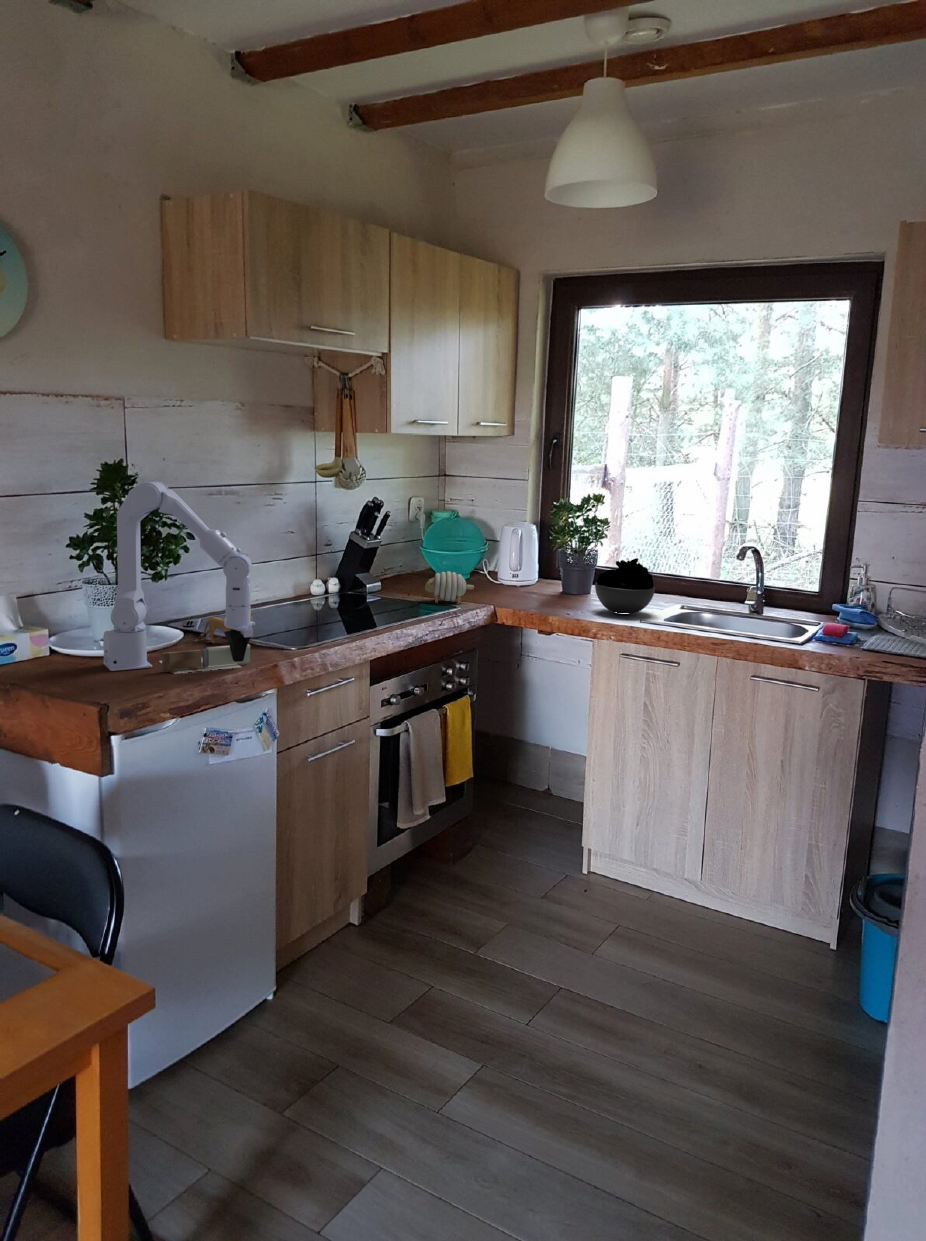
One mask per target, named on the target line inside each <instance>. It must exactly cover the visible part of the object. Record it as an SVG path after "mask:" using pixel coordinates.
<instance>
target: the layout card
mask: <svg viewBox="0 0 926 1241" xmlns="http://www.w3.org/2000/svg"><path fill="white" fill-rule="evenodd" d="M159 663H160V664H161V665H162V660H159ZM242 667H243V666H241V665H239V663H238V664H228V665H217V666H207V667H203V666H202V667H196V668H198V670H196V671H202V672H211V671H210V670H212V671H219V670H218V669H223V670H231V669H232V668H233V669H241V668H242ZM233 669H232V670H233ZM188 672H192V673H195V672H194V671H192V670H191V669H190V668H186V669H176V673H173V675H178V674H181V673H182V674H189V673H188Z"/></svg>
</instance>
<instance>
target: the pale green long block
mask: <svg viewBox="0 0 926 1241" xmlns="http://www.w3.org/2000/svg"><path fill="white" fill-rule="evenodd" d="M201 651H202V666H203V667H207V666H217V665H228V664H238V665H239V664H245V663H251V645H250V644H249V643H248V645H247V648H246V652H245V656H244V660H243V661H239V662H235V661H233V658H232V654H231V649H230V646H229V645H220V646H208V647H206V648H202V649H201Z"/></svg>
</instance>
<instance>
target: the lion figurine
mask: <svg viewBox="0 0 926 1241" xmlns="http://www.w3.org/2000/svg"><path fill="white" fill-rule="evenodd" d="M251 621H253V622H254V618H253V612H251ZM207 629H208V630H207ZM217 630H219V631H220V632H222V633H224V632H225V631H230V630H231V629H230V628H226V627H225V626H224V618H220V617H218V616H212V617H210V618H208V619H207V621H206V623H205V626H204V629H203V633H202V634H201V636H199V637H197V640H202V639H203V638H204V637H205V640H206V641H207V640H208V641H210V642H211V644H217V640H215V639H214V633H215V631H217Z"/></svg>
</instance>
